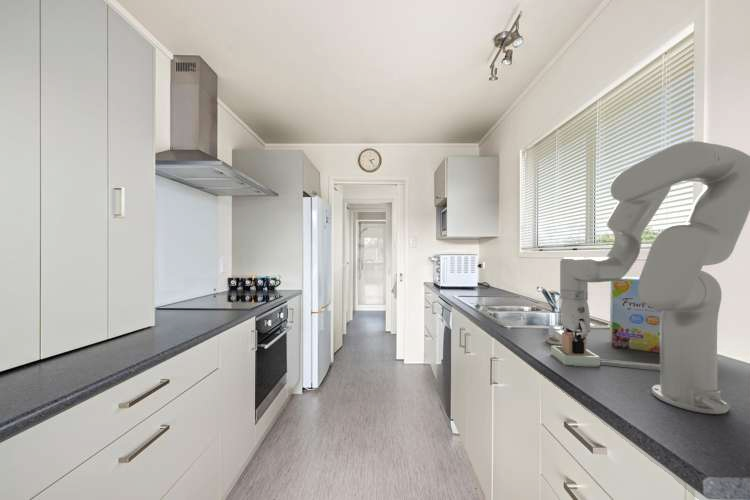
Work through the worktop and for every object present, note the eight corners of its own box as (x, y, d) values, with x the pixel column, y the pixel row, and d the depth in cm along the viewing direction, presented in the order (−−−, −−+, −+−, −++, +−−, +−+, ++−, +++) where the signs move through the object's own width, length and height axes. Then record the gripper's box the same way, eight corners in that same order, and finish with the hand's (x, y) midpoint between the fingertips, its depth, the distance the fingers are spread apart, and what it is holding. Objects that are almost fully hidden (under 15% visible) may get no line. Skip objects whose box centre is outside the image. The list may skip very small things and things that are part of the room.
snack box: (611, 347, 111) (611, 277, 111) (609, 341, 118) (608, 275, 118) (695, 358, 99) (694, 280, 99) (686, 351, 106) (686, 278, 106)
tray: (599, 366, 93) (599, 357, 93) (564, 365, 94) (564, 355, 94) (582, 355, 103) (582, 346, 103) (551, 354, 104) (551, 345, 104)
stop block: (586, 355, 96) (586, 337, 96) (569, 355, 97) (568, 336, 97) (578, 350, 101) (578, 332, 101) (561, 349, 102) (561, 332, 101)
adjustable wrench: (594, 365, 95) (594, 360, 95) (589, 359, 101) (589, 353, 101) (702, 378, 85) (701, 372, 85) (689, 370, 91) (689, 364, 91)
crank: (546, 337, 120) (546, 319, 120) (558, 337, 119) (558, 319, 119) (565, 350, 104) (565, 329, 104) (579, 351, 103) (579, 330, 103)
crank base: (567, 345, 114) (567, 342, 114) (550, 344, 115) (550, 342, 115) (560, 340, 120) (560, 338, 120) (543, 340, 121) (543, 337, 121)
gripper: (601, 299, 90) (601, 360, 90) (573, 291, 106) (573, 342, 106) (574, 299, 91) (574, 359, 91) (550, 291, 108) (550, 341, 108)
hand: (573, 349), depth 99 cm, fingers closed on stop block, 5 cm apart
